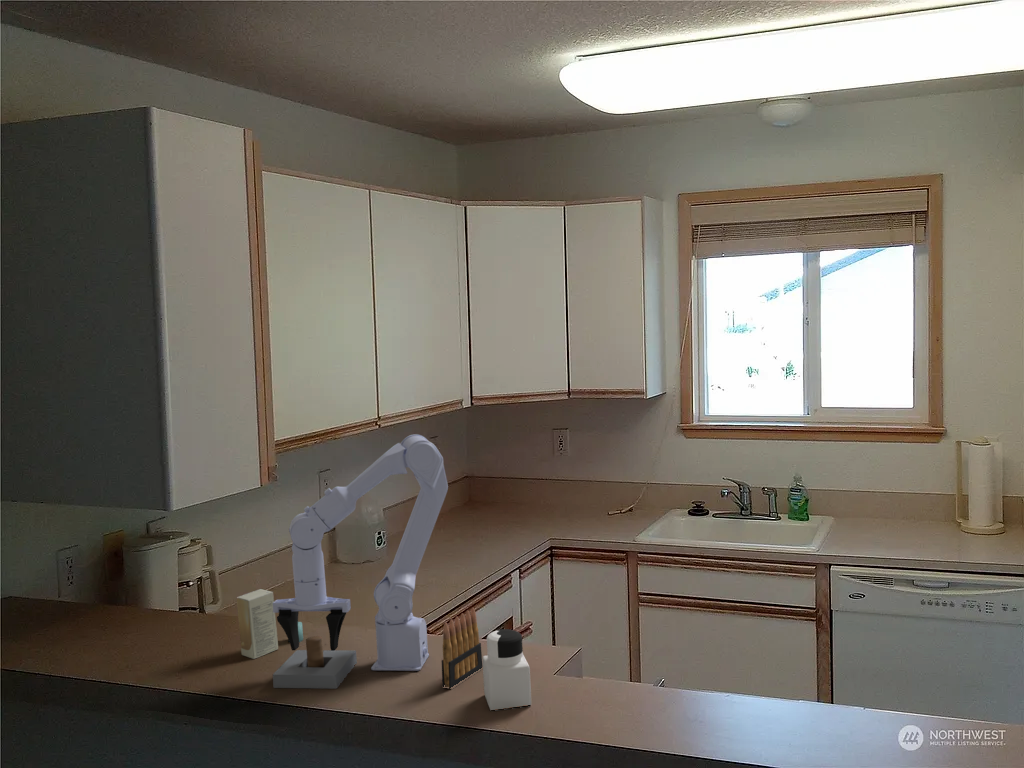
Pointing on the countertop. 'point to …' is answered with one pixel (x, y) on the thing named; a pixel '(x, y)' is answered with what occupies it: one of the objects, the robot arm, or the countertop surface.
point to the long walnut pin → (315, 652)
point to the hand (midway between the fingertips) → (314, 648)
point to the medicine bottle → (506, 671)
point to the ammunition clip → (460, 649)
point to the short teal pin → (300, 631)
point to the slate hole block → (315, 670)
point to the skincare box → (257, 623)
